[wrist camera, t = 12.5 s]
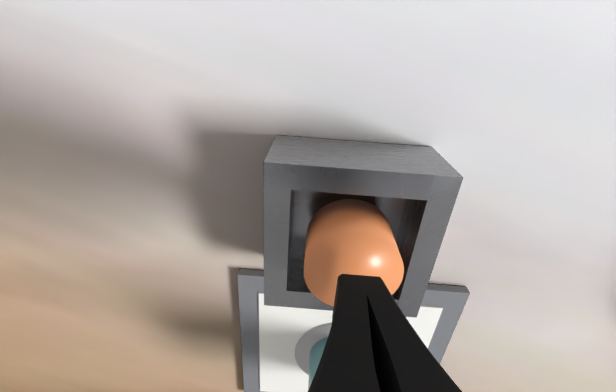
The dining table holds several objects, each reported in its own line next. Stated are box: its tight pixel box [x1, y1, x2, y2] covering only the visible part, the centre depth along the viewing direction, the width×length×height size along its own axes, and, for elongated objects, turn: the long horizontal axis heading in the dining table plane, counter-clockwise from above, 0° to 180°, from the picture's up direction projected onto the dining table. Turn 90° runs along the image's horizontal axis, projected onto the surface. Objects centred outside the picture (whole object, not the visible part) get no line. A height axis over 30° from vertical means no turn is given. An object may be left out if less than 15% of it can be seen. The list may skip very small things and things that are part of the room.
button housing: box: [263, 135, 463, 318], centre depth 14 cm, size 7×7×3 cm
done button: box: [304, 199, 404, 307], centre depth 12 cm, size 4×4×2 cm
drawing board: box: [237, 269, 470, 392], centre depth 20 cm, size 12×13×1 cm
